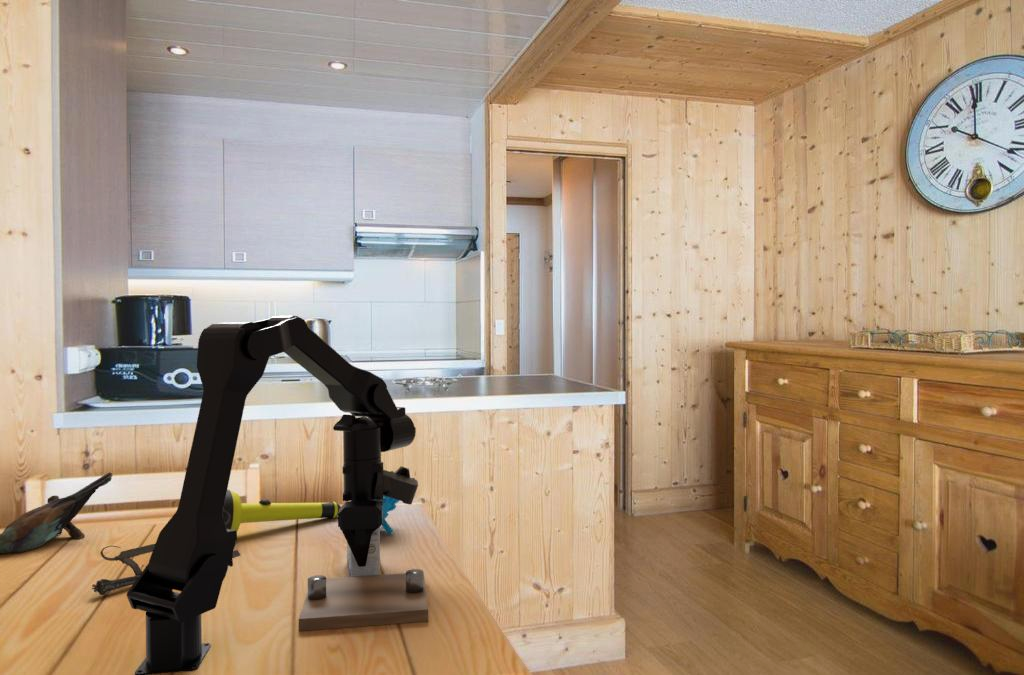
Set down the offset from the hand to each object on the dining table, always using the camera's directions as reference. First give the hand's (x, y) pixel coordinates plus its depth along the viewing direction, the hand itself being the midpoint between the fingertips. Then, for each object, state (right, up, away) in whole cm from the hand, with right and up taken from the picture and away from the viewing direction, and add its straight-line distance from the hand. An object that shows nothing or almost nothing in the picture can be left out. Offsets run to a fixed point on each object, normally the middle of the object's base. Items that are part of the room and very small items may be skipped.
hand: (363, 557), depth 108 cm
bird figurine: (-54, +2, +24) cm, 59 cm away
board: (+3, -2, -14) cm, 14 cm away
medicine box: (0, -2, 0) cm, 2 cm away
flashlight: (-21, -3, +21) cm, 30 cm away
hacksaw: (-28, -3, -1) cm, 28 cm away
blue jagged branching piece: (-4, -3, +20) cm, 21 cm away
